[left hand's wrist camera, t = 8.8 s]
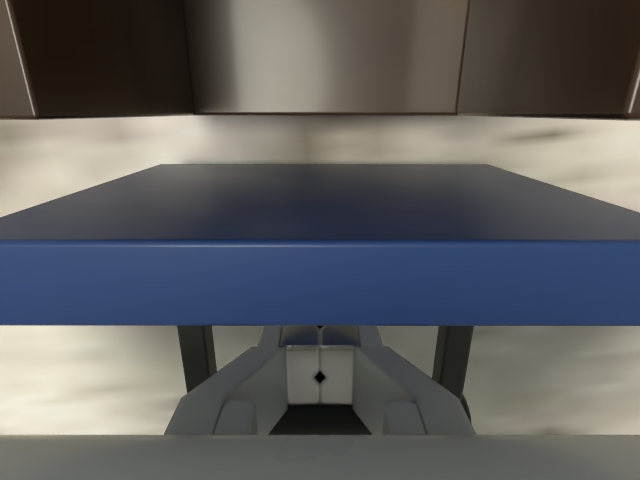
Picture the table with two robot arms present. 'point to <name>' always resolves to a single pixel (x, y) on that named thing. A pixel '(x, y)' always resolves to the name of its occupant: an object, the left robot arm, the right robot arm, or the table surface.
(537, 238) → the drawer
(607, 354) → the table surface
